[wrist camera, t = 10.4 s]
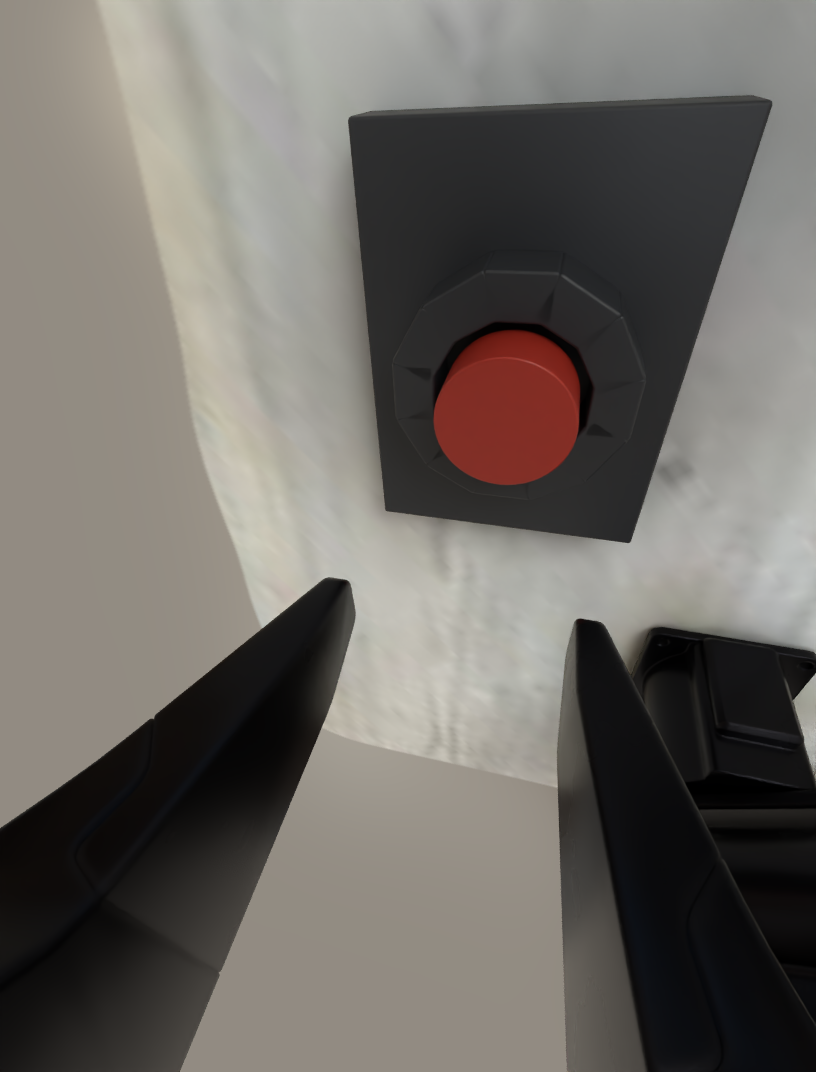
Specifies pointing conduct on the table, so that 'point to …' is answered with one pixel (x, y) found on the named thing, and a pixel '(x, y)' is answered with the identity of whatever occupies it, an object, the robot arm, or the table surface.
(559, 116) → the dark grey square plate
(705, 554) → the table surface
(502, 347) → the button
